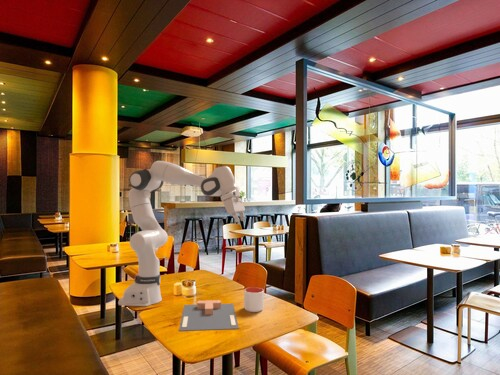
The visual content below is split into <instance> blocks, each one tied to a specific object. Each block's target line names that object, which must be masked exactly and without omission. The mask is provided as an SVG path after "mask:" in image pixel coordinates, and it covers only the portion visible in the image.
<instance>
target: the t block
mask: <svg viewBox="0 0 500 375" xmlns="http://www.w3.org/2000/svg"><path fill="white" fill-rule="evenodd" d="M221 302H222V300H221V299H217V300H215V299H214V300H211V299H210V300H209V299H208V300H197V304H196V305H197V309H205V315H213V309H221V304H222V303H221Z"/></svg>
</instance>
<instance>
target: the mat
mask: <svg viewBox="0 0 500 375" xmlns="http://www.w3.org/2000/svg"><path fill="white" fill-rule="evenodd" d="M234 305H235V304H234V303H221V309H213V315H205V309H197V304H184V305H183V310H182V315H181V318H180V319H181V320H180V323H179V324H180V325H179V329H178V332H187V331H188V332H189V331H192V332H194V331H216V330H217V331H218V330H219V331H220V330H221V331H222V330H239V329H240V327H239V324H238V323H239V322H238V319H237V314H236V310H235V306H234Z"/></svg>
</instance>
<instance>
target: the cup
mask: <svg viewBox="0 0 500 375" xmlns="http://www.w3.org/2000/svg"><path fill="white" fill-rule="evenodd" d="M243 293H244V296H243V298H244V299H243V300H244V302H243V303H244V305H243V308H244V309H245V311H247V312H250V313H258V312H262V311H263V310H264V305H265V304H264V296H265V295H264V294H265V291H264V289H263V288H260V287H247V288H245V289H244V292H243Z"/></svg>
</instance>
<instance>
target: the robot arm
mask: <svg viewBox="0 0 500 375" xmlns="http://www.w3.org/2000/svg"><path fill="white" fill-rule="evenodd" d="M235 179H236V178H235V176H234V174H233V172H232V169H231V168H230V166H228V165H219V166H217V167H215V168H214V169H213V171H212V173H211V174H210V175H209V176H208V177H206V176H202V175H199V174H197V173H194V172H192V171H190V170H188V169H186V168H184V167H183V166H180V165H178V164H176V163H172V162H170V161H165V160H156V161H154V162H153V163H152V165H151V166H150V168H149V169H147V168H142V169H140V170H139V169H138V170H136V171H133V172H131V174H130V175H129V179H128V181H129V185H130V187H132V188H131V189H129V191H128V203H129V208H130V212H131V215H132V220H133V222H134V224H136V226H138V227H139V228H140V229H141V231H140V230H139V231H138V232H134V233H133V234H132V235H131V237H130V239H129V246H130V247H131V249H132V250H133V251H134V252H135V254H136V257H137V261H138V273H136V274H135V275H134V282H133V283H131V284H130V285H129V286H128V287H127V288H126V289H124V291H123V295H122V297H121V298H119V300H118V302H117V304H118V306H125V307H126V306H128V307H149V306H151V305H153V304H154V305H155V304H158V303H160V302H162V300H163V298H162V294H161V274H160V266H161V265H160V264H161V263H160V259H159V257H157V255H156V252H155V249H158V248H159V249H160V248H161V247H162V246H164V245H166V243H167V242H168V240H169V235H168V233H167V231H166V230H165V229H163V228H162V226H161V225H160V224H159V222H158V220H157V218H156V217H155V214H154V210H153V207H152V204H151V200H150V199H151V198H150V194H153V193H155V192H156V191H157V190H160V189H161V188H162V187H163V186H164V183H167V184H171V185H176V186H195V187H197V188H200V190H201V193H202V194H203V195H204V196H206V197H217V198H218V197H220V201H222V202H223V205H224V208H225V210H226V212H227V214H228V215H231V216H232V217H233V219H234V221H235V223H238V222H240V221H241V222H243V221H245V220H246V219H245V213H244V212H245V211H246V207H245V204H244V203H243V200H242V198H241V195H242V194H241V192H240V190H239V187H238V185H237V183H236V180H235ZM238 215H239V217H238Z"/></svg>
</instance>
